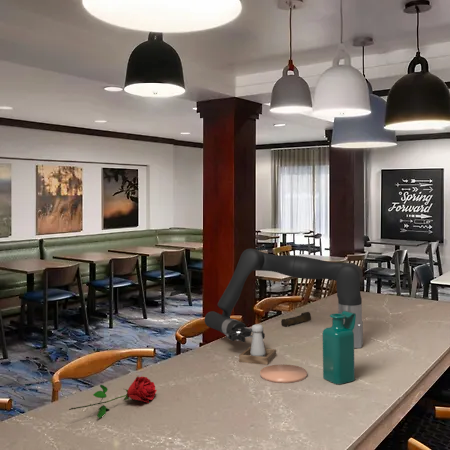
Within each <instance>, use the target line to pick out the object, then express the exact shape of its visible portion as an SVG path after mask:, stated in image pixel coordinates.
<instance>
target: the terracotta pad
mask: <svg viewBox="0 0 450 450" xmlns="http://www.w3.org/2000/svg"><path fill="white" fill-rule="evenodd" d="M259 375H260V378H262V379H263V380H264V381H267V382H270V383H277V384H292V383H299V382H301V381H304V380H305V379H306V378H308V371H307V369H306V368H303V367H302V366H298V365H294V364H286V363H285V364H284V363H283V364H272V365H266V366H265V367H263V368H261V369H260V371H259Z"/></svg>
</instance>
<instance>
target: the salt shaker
mask: <svg viewBox="0 0 450 450" xmlns="http://www.w3.org/2000/svg"><path fill="white" fill-rule="evenodd" d="M251 328H252V331H253V337H252V338H251V345H250V347H251V351H250V354H251V356H261V357H266V356H265V354H266V352H265V349H266V348H265V343H264V339H263V337H262V331H263V332H264V327H263V325H262V324H260V323H259V324H258V323H257V324H253V325H252V326H251Z"/></svg>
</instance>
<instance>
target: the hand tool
mask: <svg viewBox="0 0 450 450" xmlns="http://www.w3.org/2000/svg"><path fill="white" fill-rule="evenodd" d="M310 321H312V315H311V312H309V311H305V312H301V313H300V314H299V315H297V316H292V317H288V318H282V319H281V320H280V323H281V326H282V327H284V328H287V327H290V326H292V325H295V324H299V323H307V322H310Z"/></svg>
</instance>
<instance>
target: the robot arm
mask: <svg viewBox="0 0 450 450" xmlns="http://www.w3.org/2000/svg"><path fill="white" fill-rule="evenodd" d="M258 271H260V272H261V271H263V272H273V273H277V274H281V275H284V276H287V277H291V278H297V279H304V280H331V281H336V296H337V302H338V303H337V307H338V308H337V310H338V311H337V312H338V313H339V314H342V312H343V311H348V312H351V313H355V314H356V319H355V326H354V329H353V332H354V349H362V348H363V344H364V322H363V314H362V311H363V309H362V308H363V307H362V305H363V304H362V302H363V301H362V299H363V298H362V296H361V281H362V279H363V275H364V273H363V270H362V268H361V267H360V266H359V265H358V264H356V263H352V262H335V261H334V262H333V261H326V260H324V259H323V260H321V259H317V258H312V257H309V256H308V257H307V256H304V255H303V256H302V255H292V254H288V255H287V254H286V255H285V254H282V255H277V254H271V253H267V252H264V251H261V250H258V249H255V248H247V249H245V250H244V251H243V252H242V253H241V255H240V256H239V260H238V263H237V265H236V267H235V269H234V272H233V273H232V276H231V278H230V280H229V283H228V285H227V286H226V288H225V289H224V291H223V293H222V294H221V296H220V298H219V300H218V301H217V307H218V308H219V309H220V310H221V311H222V314H221V313H219V312H216V311H214V310H212V311H208V312H207V313H206V314H205V316H204V324H205V326H207V327H208V328H211V329H213V330H216V331H217V332H220V333H221V334H223V335H225V336H226V339H228V340H229V341H232V342H234V341H237V342H238V341H240V342H242V343H246V339H247V338H250V339H252V337H253V331H252V327H251V328H250V327H248V326H247V325H246V324H245V323H244V322H242V321H240V320H238V319H235V318H231V315H232V313H233V309H234V308H235V307H236V304H237V302H238V301H239V299H240V296H241V294H242V291H243V288H244V285H245V282H246V281H247V279H248V277H249V275H251V273H252V272H258ZM344 322H345V319H344ZM262 337H263V340H264V339H265V337H266V336H265V333H264V330H263V331H262Z"/></svg>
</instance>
